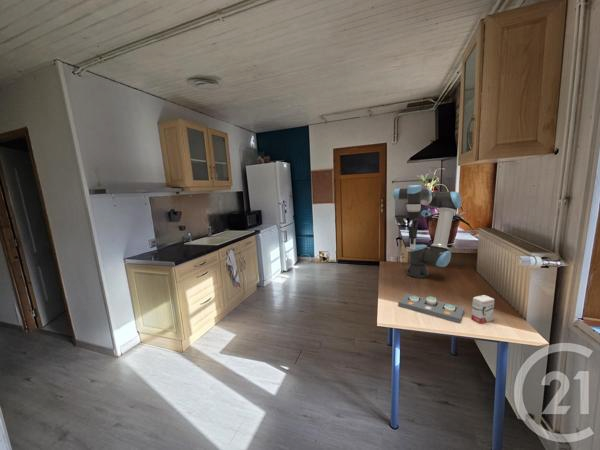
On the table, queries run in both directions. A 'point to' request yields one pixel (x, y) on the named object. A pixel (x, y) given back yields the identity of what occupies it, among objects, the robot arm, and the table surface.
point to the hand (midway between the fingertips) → (412, 248)
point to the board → (432, 308)
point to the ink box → (482, 309)
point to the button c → (450, 307)
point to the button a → (414, 298)
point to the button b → (431, 301)
